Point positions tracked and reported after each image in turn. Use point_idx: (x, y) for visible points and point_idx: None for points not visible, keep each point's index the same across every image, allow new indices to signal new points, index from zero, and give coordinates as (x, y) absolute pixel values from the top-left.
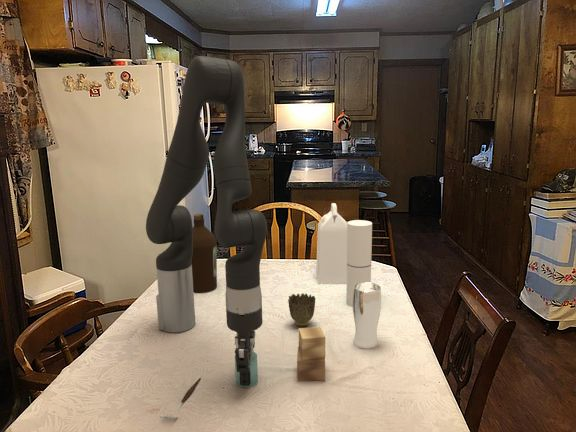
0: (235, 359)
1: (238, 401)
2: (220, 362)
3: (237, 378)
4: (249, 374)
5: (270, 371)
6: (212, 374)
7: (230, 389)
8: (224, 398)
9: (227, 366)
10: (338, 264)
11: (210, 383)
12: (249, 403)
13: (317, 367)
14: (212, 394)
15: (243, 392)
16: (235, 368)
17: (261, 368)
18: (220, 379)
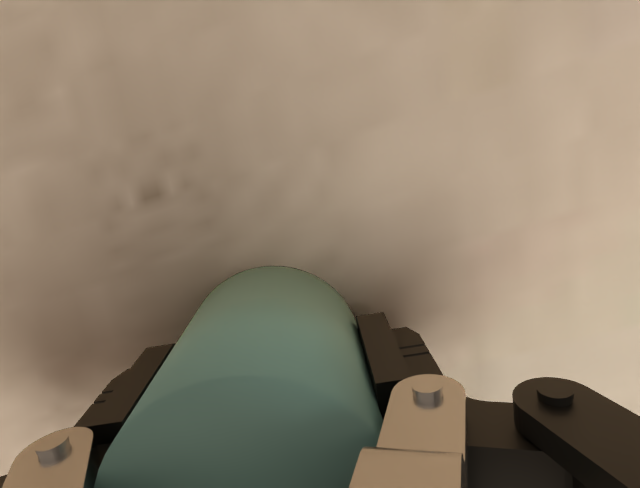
0: (148, 401)
1: (11, 358)
2: (533, 39)
3: (192, 318)
4: None
5: None
6: (324, 31)
7: (139, 258)
8: (15, 249)
9: (469, 128)
10: None
11: (183, 63)
12: (12, 433)
13: None
14: (36, 136)
15: (126, 362)
16: (200, 328)
17: None
18: (260, 132)
